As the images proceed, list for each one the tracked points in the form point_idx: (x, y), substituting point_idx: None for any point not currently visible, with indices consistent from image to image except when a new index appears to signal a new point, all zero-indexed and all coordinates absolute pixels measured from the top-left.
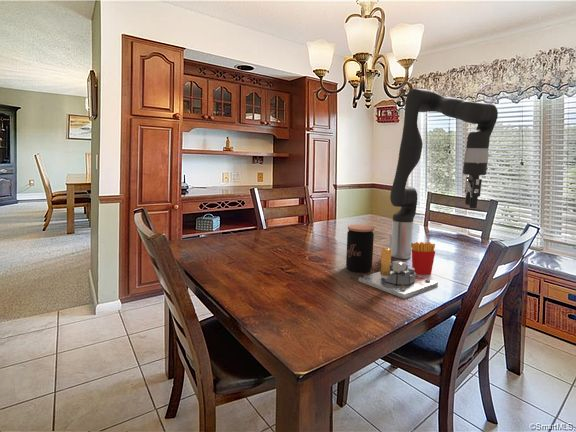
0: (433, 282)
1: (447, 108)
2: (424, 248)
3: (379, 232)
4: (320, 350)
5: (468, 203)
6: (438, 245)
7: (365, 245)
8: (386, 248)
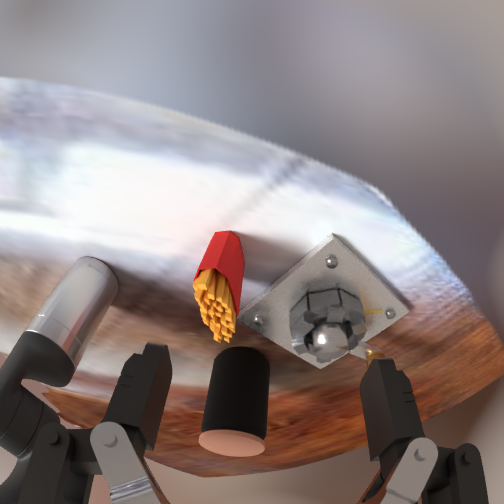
0: (336, 249)
1: None
2: (231, 306)
3: None
4: (498, 363)
5: (166, 367)
6: None
7: (264, 409)
8: None
